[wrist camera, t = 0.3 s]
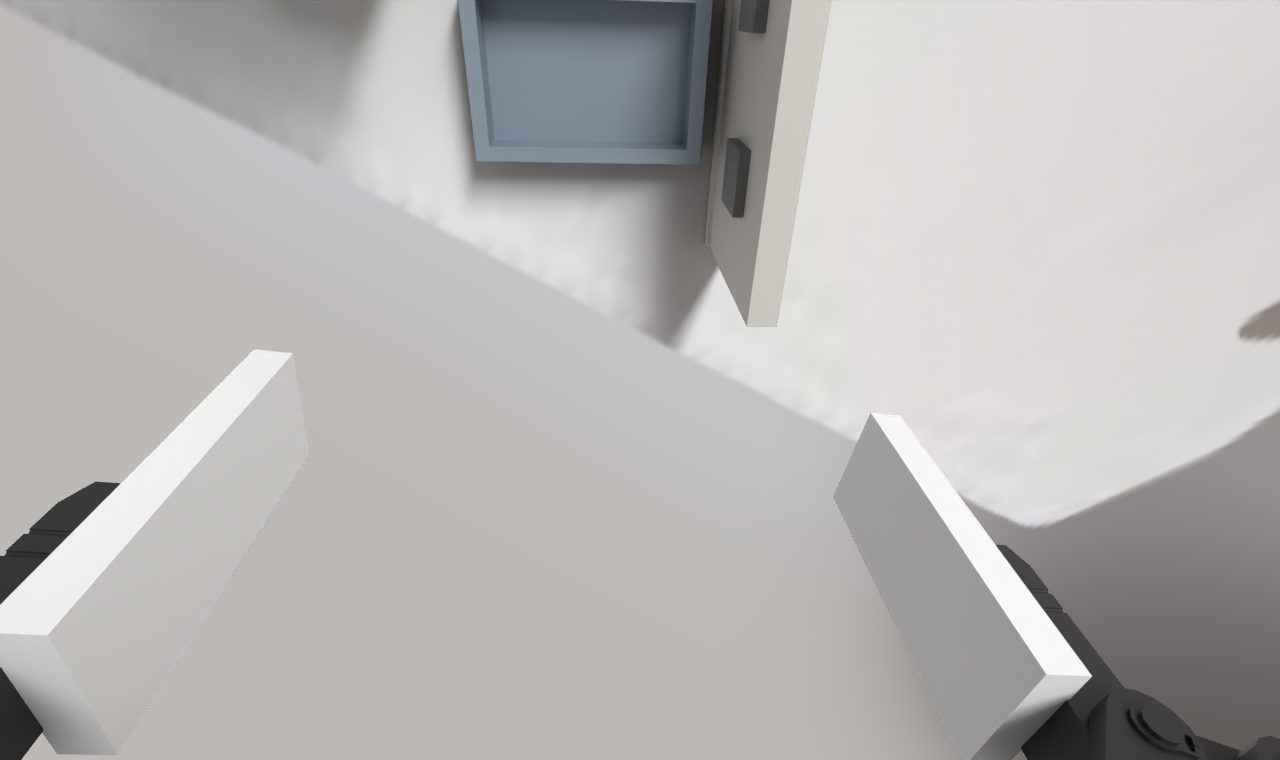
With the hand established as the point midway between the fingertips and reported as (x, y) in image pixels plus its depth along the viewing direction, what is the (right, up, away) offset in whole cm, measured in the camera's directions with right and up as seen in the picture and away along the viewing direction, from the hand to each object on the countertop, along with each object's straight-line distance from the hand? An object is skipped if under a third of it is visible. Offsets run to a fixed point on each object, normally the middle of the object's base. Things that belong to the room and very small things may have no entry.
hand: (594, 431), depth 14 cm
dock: (-2, +19, +20) cm, 27 cm away
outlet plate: (+8, +19, +20) cm, 29 cm away
